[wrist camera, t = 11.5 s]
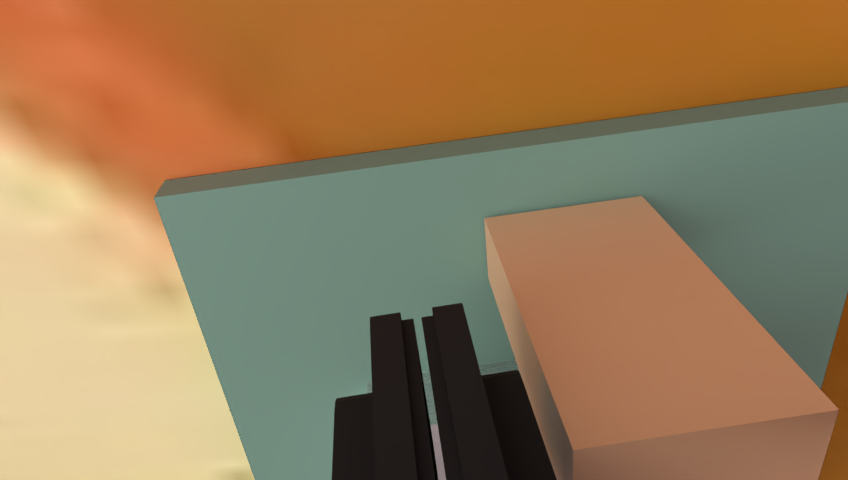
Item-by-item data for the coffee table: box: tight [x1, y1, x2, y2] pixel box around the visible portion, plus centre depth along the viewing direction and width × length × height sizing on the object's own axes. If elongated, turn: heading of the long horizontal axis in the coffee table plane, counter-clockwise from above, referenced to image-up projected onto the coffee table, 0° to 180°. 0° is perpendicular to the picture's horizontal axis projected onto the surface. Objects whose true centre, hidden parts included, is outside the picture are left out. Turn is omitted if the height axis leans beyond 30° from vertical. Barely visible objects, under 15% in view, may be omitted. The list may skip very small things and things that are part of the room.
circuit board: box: [154, 87, 848, 480], centre depth 21 cm, size 22×18×1 cm
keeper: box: [484, 196, 839, 480], centre depth 14 cm, size 6×4×7 cm
